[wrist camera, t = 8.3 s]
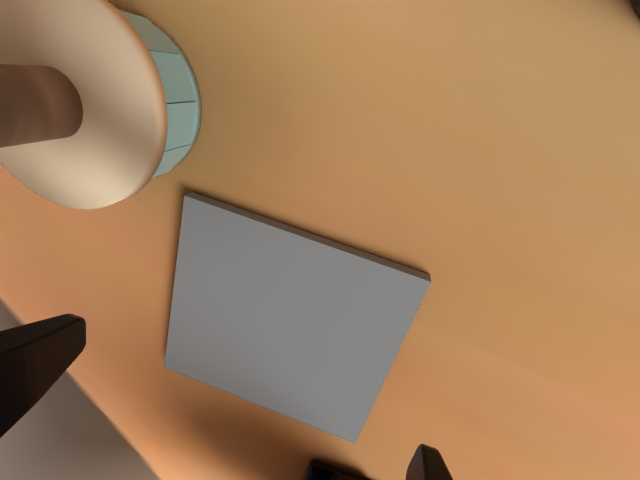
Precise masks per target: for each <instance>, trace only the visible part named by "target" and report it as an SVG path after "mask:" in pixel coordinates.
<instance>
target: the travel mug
mask: <svg viewBox="0 0 640 480" xmlns="http://www.w3.org/2000/svg"><path fill="white" fill-rule="evenodd" d="M632 3H633V5H634V8H635V10H636V12H637V13H638V15H639V17H640V0H632Z"/></svg>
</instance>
